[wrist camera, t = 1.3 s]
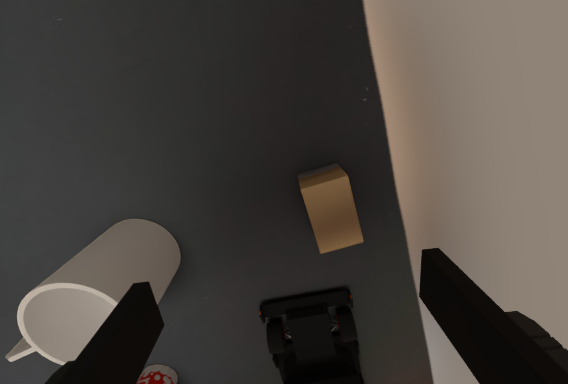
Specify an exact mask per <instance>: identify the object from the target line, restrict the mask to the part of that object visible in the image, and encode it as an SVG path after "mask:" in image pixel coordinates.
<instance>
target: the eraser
mask: <svg viewBox="0 0 568 384" xmlns="http://www.w3.org/2000/svg"><path fill="white" fill-rule="evenodd" d="M297 176H298V180H299V185H300V189H301V193H302V196H303V199H304V202H305V205H306V209H307V212H308V215H309V218H310V222H311V225H312V228H313V231H314V235H315V238H316V241H317V244H318V248H319V251H320V253H321V254H323V253H326V252H330V251H333V250H337V249H341V248H344V247H348V246H352V245H355V244H359V243H362V242H364V240H363V236H362V232H361V228H360V224H359V220H358V215H357V211H356V207H355V203H354V199H353V195H352V191H351V186H350V182H349V178H348V175H347V174H346V173H345V172H344V171H343V169H342V168H341V167H340V166H339V165H338V163H333V164H330V165H326V166H323V167H320V168H316V169H313V170H310V171H307V172H303V173H300V174H297Z"/></svg>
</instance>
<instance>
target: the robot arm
mask: <svg viewBox="0 0 568 384" xmlns="http://www.w3.org/2000/svg"><path fill="white" fill-rule="evenodd" d="M419 297H420V298H421V300H422V301H423V303H424V304H425V305H426V307H427V308H428V310H429V311H430V313H431V314H432V315H433V317H434V318H435V320H436V321H437V323H438V324H439V326H440V327H441V329H442V330H443V332H444V333H445V334H446V336H447V337H448V339H449V340H450V342H451V343H452V345H453V346H454V347H455V349H456V350H457V352H458V353H459V355H460V356H461V358H462V359H463V360H464V362H465V363H466V364H467V366H468V368H469V369H470V370H471V372H472V373H473V375H474V376H475V378H476V379H477V381H478V382H479V383H480V384H568V350H566V349H564V348H563V347H562V345H561V344H560V343H559V342H558V341H557V340H555V339H554V338H553V337H550V334H549V333H548V332H546V331H545V330H544V329H543V328H542V327H541V326H540V325H538V324H537V323H536V322H535V321H534V320H532V319H530V318H528V317H526V316H525V315H523V314H521V313H519V312H518V311H512V312H504V311H503V310H502V309H501V308H500V307H499V306H498V305H497V304H496V303H495V302H494V301H493V300H492V299H491V298H490V297H489V296H487V295H486V294H485V292H483V291H482V290H481V289H480V288H479V287H478V286H477V285H476V284H475V283H474V282H473V281H472V280H471V279H470V278H469V277H468V276H467V275H466V274H465V273H464V272H463V271H462V270H461V269H459V267H458V266H457V265H456V264H454V263H453V262H452V261H451V260H450V259H449V258H448V257H447V256H446V255H445V254H444V253H443V252H442V251H441V250H440V249H439V248H433V249H424V250H422V258H421V275H420V293H419ZM163 327H164V323H163V320H162V317H161V314H160V311H159V308H158V305H157V303H156V300H155V297H154V294H153V291H152V288H151V286H150V283H149V281H147V282H139V283H133V284H132V286H131V287H130V288H129V290H128V291H127V292H126V294H125V295H124V296H123V298H122V299H121V300H120V301H119V303H118V304H117V305H116V307H115V308H114V309H113V311H112V312H111V313H110V315H109V316H108V317H107V319H106V320H105V321H104V323H103V324H102V325H101V326H100V328H99V329H98V330H97V332H96V333H95V334H94V336H93V337H92V338H91V340H90V341H89V342H88V344H87V345H86V346H85V348H84V349H83V350H82V351H81V353H80V354H79V355H78V357H77V358H76V359H75V360H74V361H67V362H66V363H65V364H64V365H63V366H62V367H61V368H59V369H58V370H57V371H56V372H55V373H54V374H52V375H51V377H50V378H49V379H48V380H47V382H46V383H45V384H136V382H137V380H138V378H139V376H140V374H141V372H142V370H143V368H144V366H145V364H146V362H147V360H148V358H149V356H150V354H151V352H152V349H153V347H154V345H155V343H156V341H157V339H158V337H159V335H160V333H161V331H162V329H163Z"/></svg>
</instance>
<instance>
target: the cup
mask: <svg viewBox="0 0 568 384" xmlns="http://www.w3.org/2000/svg"><path fill="white" fill-rule="evenodd" d="M180 259H181V255H180V249H179V246H178V244H177V242H176V240H175V239H174V237H173V236H172V235H171V234H170V233H169V232H168V231H167V230H166V229H165V228H163V227H162V226H160V225H158V224H156V223H154V222H151V221H148V220H144V219H127V220H123V221H120V222H118V223H116V224H115V225H113V226H112V227H110V228H109V229H108V230H107V231H105V232H104V233H103V234H102V235H100V236H99V237H98V238H97V239H95V240H94V241H93V242H92V243H90V244H89V245H88V246H87V247H85V248H84V249H83V250H82V251H80V252H79V253H78V254H77V255H75V256H74V257H73V258H72V259H70V260H69V261H68V262H67V263H66V264H64V265H63V266H62V267H61V268H59V269H58V270H57V271H56V272H54V273H53V274H52V275H51V276H49V277H48V278H47V279H46V280H44V281H43V282H42V283H41V284H39V285H38V286H37V287H36V288H34V289H33V290H32V291H31V292H29V293H28V294H27V295H26V296H25V298H24V299H23V300H22V301H21V303H20V305H19V307H18V313H17V320H18V326H19V328H20V331H21V334H22V335H23V338H22V339H21V340H20V341H19V342H18V343H17V344H16V346H15V347H14V348H13V349H12V350H11V351H10V352H9V353H8V354H7V355H6V356H5V358H6V359H7V360H9V361H10V362H12V361H15V360H17V359H19V358H21V357H23V356H26V355H28V354H30V353H32V352H35V351H37V352H38V353H40V354H41V355H42V356H44V357H46V358H47V359H49V360H51V361H53V362H55V363H58V364H60V365H64V364H65V363H66V362H67V361H74V360H75V359H76V358H77V357H78V355H79V354H80V353H81V351H82V350H83V349H84V348H85V346H86V345H87V344H88V342H89V341H90V340H91V338H92V337H93V336H94V334H95V333H96V332H97V330H98V329H99V328H100V326H101V325H102V324H103V323H104V321H105V320H106V319H107V317H108V316H109V315H110V313H111V312H112V311H113V309H114V308H115V307H116V305H117V304H118V303H119V301H120V300H121V299H122V298H123V296H124V295H125V294H126V292H127V291H128V290H129V288H130V287H131V286H132V284H133V283H139V282H147V281H149V283H150V286H151V288H152V291H153V294H154V297H155V300H156V303H157V305H158V303H159V301H160V300H161V298H162V296H163V294H164V293H165V291H166V289H167V287H168V285H169V284H170V282H171V280H172V278H173V277H174V275H175V273H176V271H177V270H178V267H179V265H180ZM28 343H29V344H28Z"/></svg>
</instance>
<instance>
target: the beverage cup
mask: <svg viewBox="0 0 568 384" xmlns="http://www.w3.org/2000/svg"><path fill="white" fill-rule="evenodd" d="M177 381H178V377H177V374H176V372H175V371H174V370H173V369H171V368H170V367H168V366H165V365H159V364H155V365H151V366H148V367H147V368H145V369H144V371H143V372H142V374H141V376H140V378H139V379H138V381H137V383H136V384H177Z"/></svg>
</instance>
